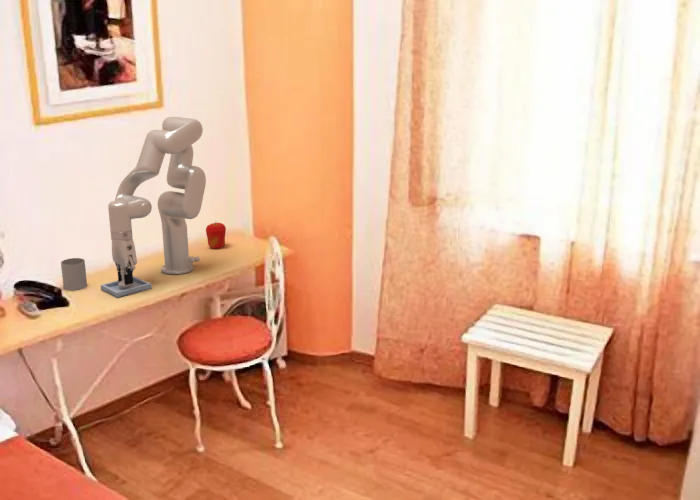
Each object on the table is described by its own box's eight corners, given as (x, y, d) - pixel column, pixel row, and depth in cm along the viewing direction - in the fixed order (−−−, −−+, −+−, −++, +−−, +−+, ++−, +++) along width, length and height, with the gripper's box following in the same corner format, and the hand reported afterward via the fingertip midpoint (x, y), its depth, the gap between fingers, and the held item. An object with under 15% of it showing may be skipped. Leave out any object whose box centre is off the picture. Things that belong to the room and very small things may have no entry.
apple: (218, 243, 356) (217, 217, 353) (230, 247, 351) (229, 220, 348) (202, 247, 350) (201, 221, 347) (215, 251, 345) (213, 224, 342)
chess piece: (136, 283, 301) (134, 260, 299) (127, 288, 297) (125, 264, 294) (124, 282, 303) (122, 259, 300) (115, 286, 298) (113, 263, 296)
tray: (134, 281, 309) (134, 276, 308) (151, 288, 301) (151, 283, 300) (101, 290, 300) (100, 284, 299) (117, 298, 292) (117, 292, 291)
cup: (79, 291, 298) (77, 265, 295) (59, 290, 300) (56, 264, 297) (91, 283, 306) (88, 258, 303) (71, 282, 308) (68, 257, 305)
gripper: (142, 237, 291) (146, 285, 296) (119, 228, 302) (123, 274, 308) (124, 241, 286) (128, 290, 291) (100, 232, 297) (105, 279, 303)
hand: (125, 281), depth 299 cm, fingers closed on chess piece, 3 cm apart
